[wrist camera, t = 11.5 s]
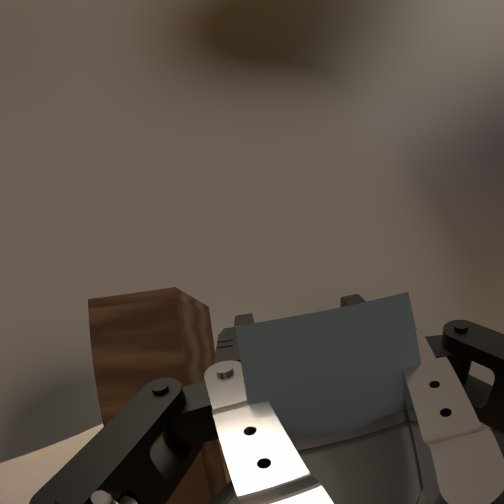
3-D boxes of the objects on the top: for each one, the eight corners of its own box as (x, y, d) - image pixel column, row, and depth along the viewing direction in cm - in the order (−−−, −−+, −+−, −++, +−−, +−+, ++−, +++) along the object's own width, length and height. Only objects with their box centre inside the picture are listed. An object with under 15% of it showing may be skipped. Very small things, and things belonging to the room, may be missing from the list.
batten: (426, 412, 5) (408, 291, 6) (257, 455, 5) (235, 325, 6) (304, 359, 30) (300, 332, 31) (267, 365, 30) (263, 338, 31)
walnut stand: (230, 561, 18) (175, 287, 27) (147, 554, 18) (88, 299, 28) (243, 501, 33) (208, 306, 43) (181, 502, 33) (145, 315, 43)
